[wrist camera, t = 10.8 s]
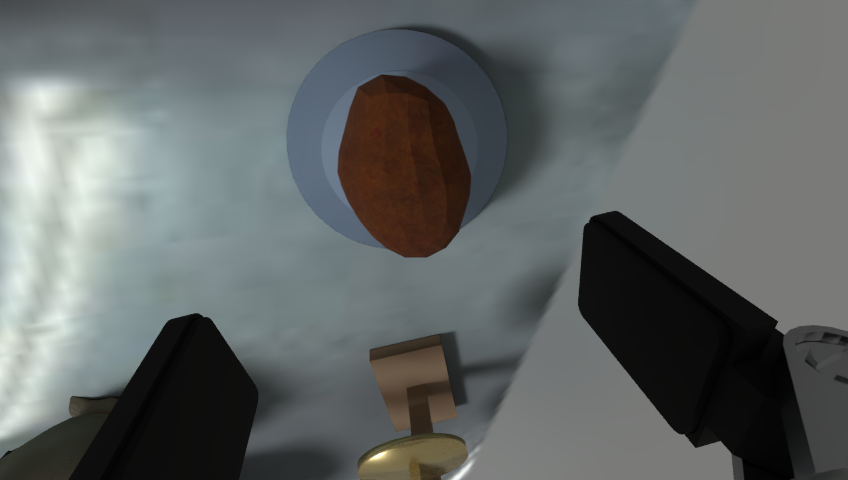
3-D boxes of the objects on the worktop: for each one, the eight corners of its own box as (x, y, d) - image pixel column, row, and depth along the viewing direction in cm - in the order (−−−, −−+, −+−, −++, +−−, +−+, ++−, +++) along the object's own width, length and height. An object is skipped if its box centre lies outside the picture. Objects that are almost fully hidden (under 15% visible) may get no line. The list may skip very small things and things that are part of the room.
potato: (469, 74, 20) (509, 90, 14) (451, 226, 24) (476, 284, 19) (337, 65, 19) (324, 79, 13) (344, 226, 23) (337, 287, 18)
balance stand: (369, 350, 30) (370, 539, 19) (439, 334, 30) (481, 512, 19) (395, 420, 35) (407, 602, 24) (454, 406, 36) (494, 580, 24)
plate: (252, 56, 19) (246, 57, 18) (494, 7, 19) (501, 5, 18) (329, 259, 25) (327, 268, 24) (507, 219, 26) (513, 227, 25)
